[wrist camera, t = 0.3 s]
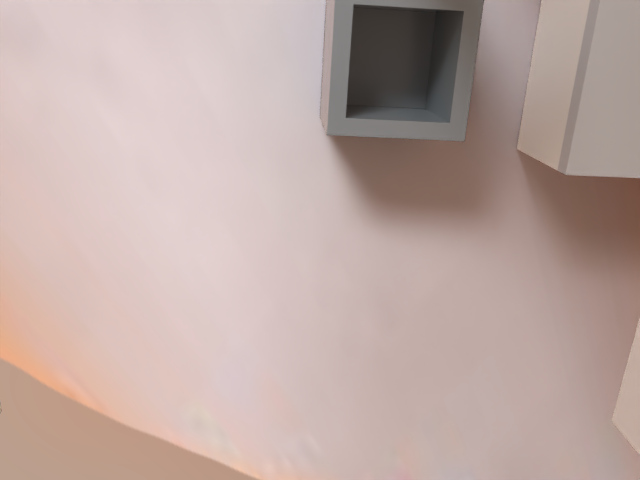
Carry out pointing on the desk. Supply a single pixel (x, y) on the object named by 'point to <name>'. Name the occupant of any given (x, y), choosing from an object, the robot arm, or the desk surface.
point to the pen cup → (399, 67)
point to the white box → (585, 89)
